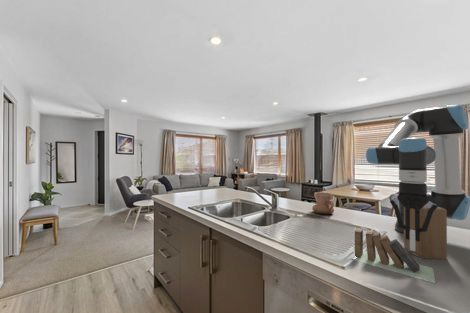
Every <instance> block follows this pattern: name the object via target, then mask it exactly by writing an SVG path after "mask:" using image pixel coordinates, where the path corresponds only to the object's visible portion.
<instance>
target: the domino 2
mask: <svg viewBox="0 0 470 313" xmlns="http://www.w3.org/2000/svg"><path fill="white" fill-rule="evenodd" d="M381 236H382V235H381V232H379V231H378V232H374V233H373V235H372V238H373V241H374V243H375V250H376V251H377V254H378V255H379V257H380V260H381V263H382V264H388V263H389V260H390V259H389V257H390V256H389V254H388V253H387V251H386V250H385V248H384V246H383V245H382V243H381V242H380V238H381Z"/></svg>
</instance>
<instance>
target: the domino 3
mask: <svg viewBox="0 0 470 313" xmlns="http://www.w3.org/2000/svg"><path fill="white" fill-rule="evenodd" d="M391 241H392V240H391V239H390V238H389V236H388V235H387V234H385V235H381V238H380V242H381V243H382V245H383V246H384V248H385V250H386V251H387V253H388V256H389V257H390V258H391V259H392V261H393V262H394V264H395V265H396V267H397V268H401V267H403V266H404V261H403V260H402V259H401V258H400V256H399V255H398V254H397V253H396V252H395V251H394V250H393V249H392V247H391V246H390V243H391Z"/></svg>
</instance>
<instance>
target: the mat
mask: <svg viewBox="0 0 470 313" xmlns="http://www.w3.org/2000/svg"><path fill="white" fill-rule="evenodd" d="M350 251H353V252H355V247H350V249H349V250H348V251H347V253H348V252H350ZM363 251H364V252H363V254H362V256H361V258H358V257H357V258H356V259H354V260H353V261H354V262H358V263H362V264H367V265H369V266H373V267H376V268H380V269H384V270H387V271H391V272H395V273H398V274H401V275H404V276H407V277H412V278H416V279H419V280H422V281H426V282H430V283H433V284H436V280H435V273H434V268H433V267H429V266H426V265H422V264H419V266H420V270H419V271H417V272H413V271H412V270H411V269H410V268H409V267H408V266H407V264H406V263H405V262H404V266H403V267H401V268H397V267H396V265H395V264H394V262H393V261H392V259H391V257H390V256H389V259H390V260H389V263H388V264H382V263H381V260H380V257H379V254H378V253H376V258H375V260H374V261H369V260H368V256H367V250H366V251H365V250H363Z"/></svg>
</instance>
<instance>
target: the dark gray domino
mask: <svg viewBox="0 0 470 313" xmlns="http://www.w3.org/2000/svg"><path fill="white" fill-rule="evenodd" d="M390 241H391V243H390V246H391V247H392V249H393V250H394V251H395V252H396V253H397V254H398V255H399V256H400V258H401V259H402V260H403V261H404V262H405V263H406V264H407V266H408V267H409V268H410V269H411V270H412V271H413V272H417V271H419V270H420V266H419V265H420V263H418V261H417V260H416V259H415V258H414V256H412V255H411V254H410V253H409V251H408V250H406V249H405V248H404V245H402V244H401V243H400V242H399V240H398V239H397V238H395V239H393V240H390Z"/></svg>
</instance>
